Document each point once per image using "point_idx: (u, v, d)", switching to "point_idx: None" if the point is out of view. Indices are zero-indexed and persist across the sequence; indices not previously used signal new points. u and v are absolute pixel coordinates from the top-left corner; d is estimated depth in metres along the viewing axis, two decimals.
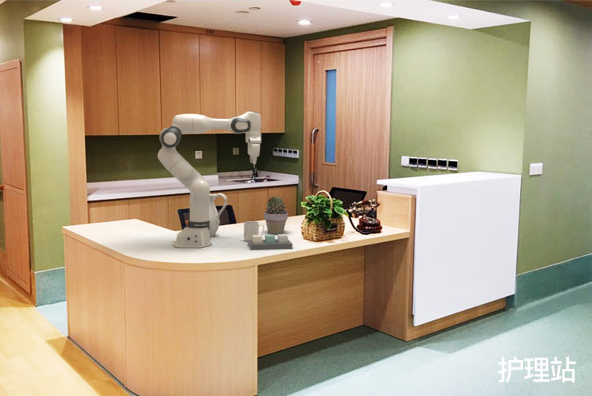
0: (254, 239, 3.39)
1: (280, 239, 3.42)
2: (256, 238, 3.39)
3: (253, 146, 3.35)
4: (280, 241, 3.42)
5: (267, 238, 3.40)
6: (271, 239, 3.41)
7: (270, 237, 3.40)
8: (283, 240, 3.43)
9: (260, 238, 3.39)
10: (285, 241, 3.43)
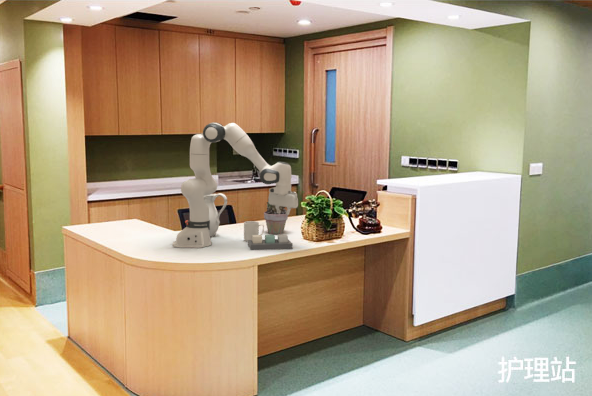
0: (254, 239, 3.39)
1: (280, 239, 3.42)
2: (256, 238, 3.39)
3: None
4: (280, 241, 3.42)
5: (267, 238, 3.40)
6: (271, 239, 3.41)
7: (270, 237, 3.40)
8: (283, 240, 3.43)
9: (260, 238, 3.39)
10: (285, 241, 3.43)
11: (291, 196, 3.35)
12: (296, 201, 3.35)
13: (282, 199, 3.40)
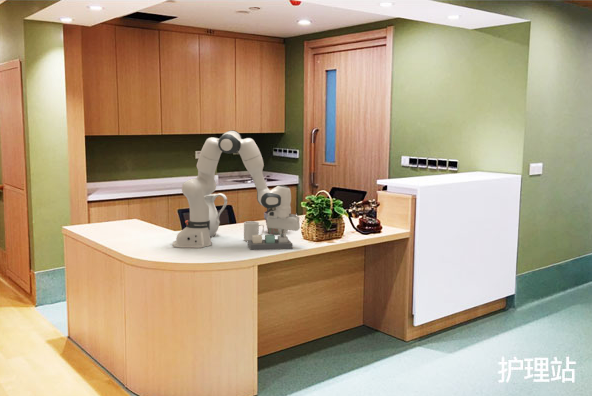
0: (254, 239, 3.39)
1: (280, 241, 3.42)
2: (256, 238, 3.39)
3: None
4: None
5: (267, 238, 3.40)
6: (271, 239, 3.41)
7: (270, 237, 3.40)
8: (283, 242, 3.43)
9: (260, 238, 3.39)
10: None
11: (293, 219, 3.38)
12: (298, 224, 3.39)
13: (283, 222, 3.41)
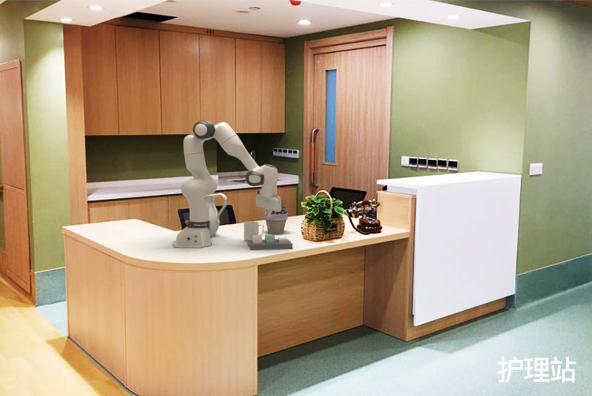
0: (254, 239, 3.39)
1: (280, 242, 3.42)
2: (256, 238, 3.39)
3: None
4: None
5: (267, 238, 3.40)
6: (271, 239, 3.41)
7: (270, 237, 3.40)
8: None
9: (260, 238, 3.39)
10: None
11: (274, 199, 3.33)
12: (279, 205, 3.33)
13: (267, 202, 3.38)
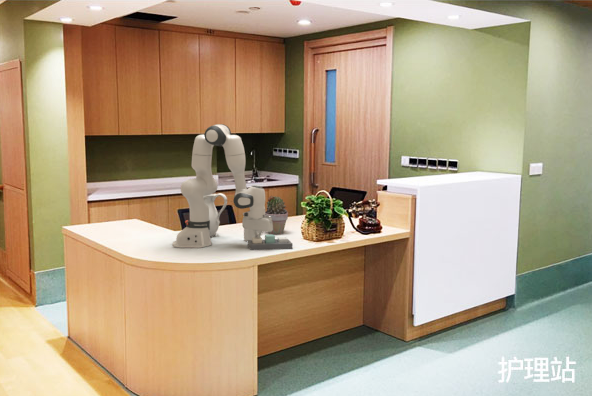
0: (254, 241, 3.39)
1: (280, 242, 3.42)
2: (256, 240, 3.39)
3: None
4: None
5: (267, 238, 3.40)
6: (271, 239, 3.41)
7: (270, 237, 3.40)
8: None
9: (260, 240, 3.39)
10: None
11: (266, 220, 3.34)
12: (271, 225, 3.34)
13: (256, 223, 3.38)
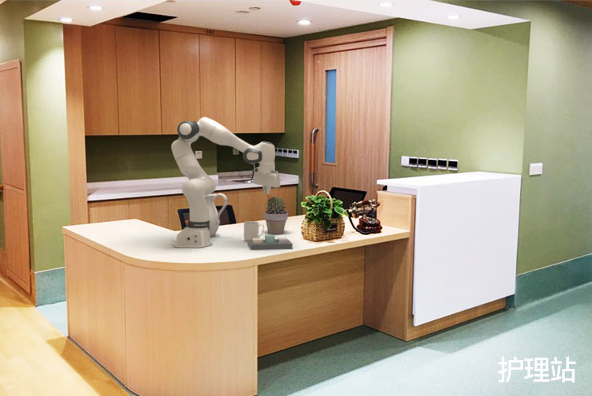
0: (254, 242, 3.39)
1: (280, 242, 3.42)
2: (256, 241, 3.39)
3: None
4: None
5: (267, 238, 3.40)
6: (271, 239, 3.41)
7: (270, 237, 3.40)
8: None
9: (260, 241, 3.40)
10: None
11: (273, 175, 3.36)
12: (278, 180, 3.37)
13: (265, 179, 3.42)
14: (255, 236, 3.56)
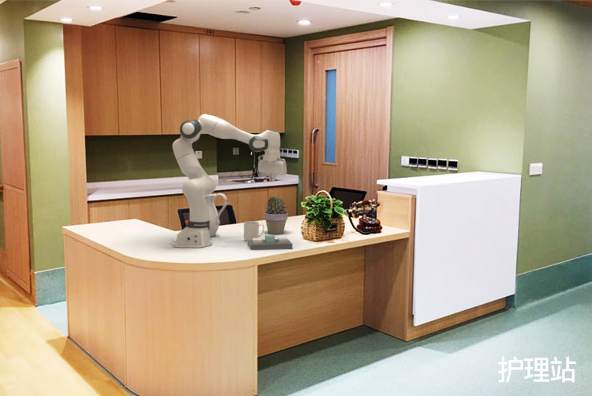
0: (254, 242, 3.39)
1: (280, 242, 3.42)
2: (256, 241, 3.39)
3: None
4: None
5: (267, 238, 3.40)
6: (271, 239, 3.41)
7: (270, 237, 3.40)
8: None
9: (260, 241, 3.40)
10: None
11: (279, 163, 3.40)
12: (284, 168, 3.41)
13: (271, 166, 3.45)
14: (255, 236, 3.56)
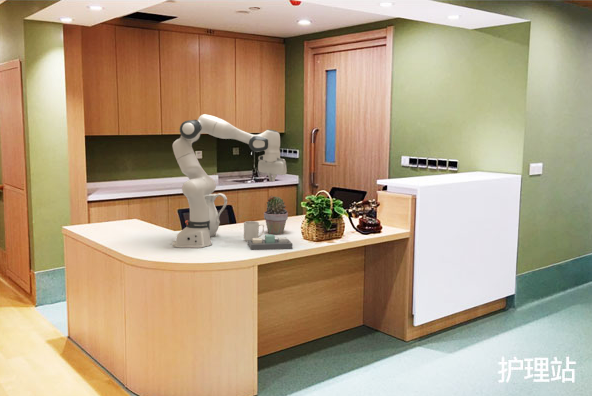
0: (254, 242, 3.39)
1: (280, 242, 3.42)
2: (256, 241, 3.39)
3: None
4: None
5: (267, 238, 3.40)
6: (271, 239, 3.41)
7: (270, 237, 3.40)
8: None
9: (260, 241, 3.40)
10: None
11: (279, 163, 3.40)
12: (284, 168, 3.41)
13: (271, 166, 3.45)
14: (255, 236, 3.56)
